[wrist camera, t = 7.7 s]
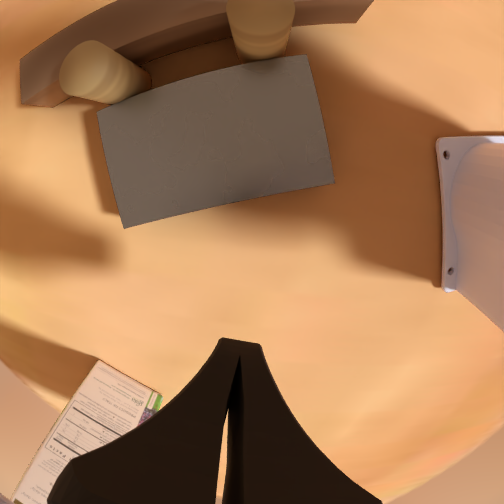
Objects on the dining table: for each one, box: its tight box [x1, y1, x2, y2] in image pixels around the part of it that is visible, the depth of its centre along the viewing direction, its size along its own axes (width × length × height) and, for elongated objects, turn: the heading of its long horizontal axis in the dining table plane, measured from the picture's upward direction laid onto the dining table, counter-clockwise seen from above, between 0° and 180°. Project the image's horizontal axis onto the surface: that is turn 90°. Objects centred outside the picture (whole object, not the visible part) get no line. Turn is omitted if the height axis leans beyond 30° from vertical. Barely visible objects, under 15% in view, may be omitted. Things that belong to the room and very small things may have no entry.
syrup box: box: [10, 360, 163, 504], centre depth 13 cm, size 6×6×14 cm
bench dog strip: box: [20, 0, 374, 107], centre depth 10 cm, size 5×18×5 cm, turn 102°
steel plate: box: [97, 54, 335, 229], centre depth 13 cm, size 6×10×2 cm, turn 102°
